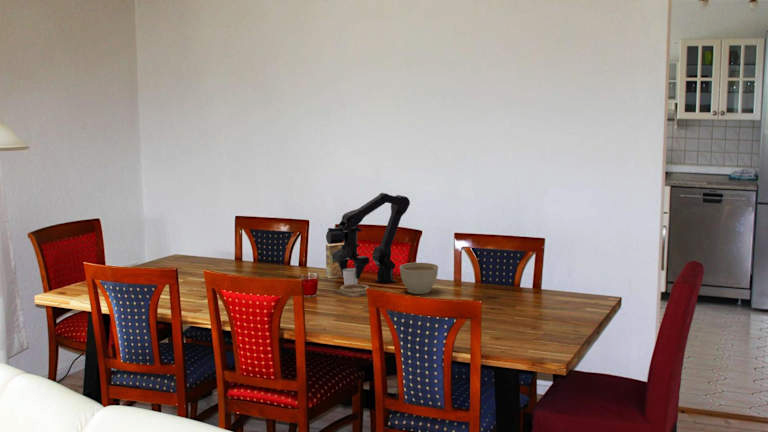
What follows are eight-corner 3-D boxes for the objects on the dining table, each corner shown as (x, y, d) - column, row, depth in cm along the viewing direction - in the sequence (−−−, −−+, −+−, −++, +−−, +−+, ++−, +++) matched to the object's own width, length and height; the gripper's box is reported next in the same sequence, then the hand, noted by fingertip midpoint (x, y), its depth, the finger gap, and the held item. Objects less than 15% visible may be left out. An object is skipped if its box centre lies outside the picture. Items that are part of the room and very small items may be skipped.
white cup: (359, 283, 359) (359, 268, 358) (357, 287, 352) (357, 271, 351) (344, 283, 360) (343, 267, 359) (341, 286, 353) (341, 271, 352)
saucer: (356, 288, 350) (356, 282, 350) (374, 293, 342) (374, 287, 341) (334, 292, 342) (334, 287, 342) (353, 297, 334) (353, 292, 333)
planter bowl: (393, 289, 347) (392, 264, 346) (425, 285, 354) (425, 261, 353) (411, 298, 333) (411, 271, 331) (445, 293, 340) (445, 267, 339)
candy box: (329, 279, 369) (329, 245, 366) (325, 277, 372) (325, 244, 370) (347, 276, 373) (347, 243, 371) (343, 275, 376) (343, 242, 374)
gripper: (322, 241, 355) (323, 276, 357) (350, 247, 341) (350, 283, 344) (342, 238, 362) (342, 273, 365) (370, 244, 349) (370, 279, 351)
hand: (350, 277), depth 356 cm, fingers open, 9 cm apart
